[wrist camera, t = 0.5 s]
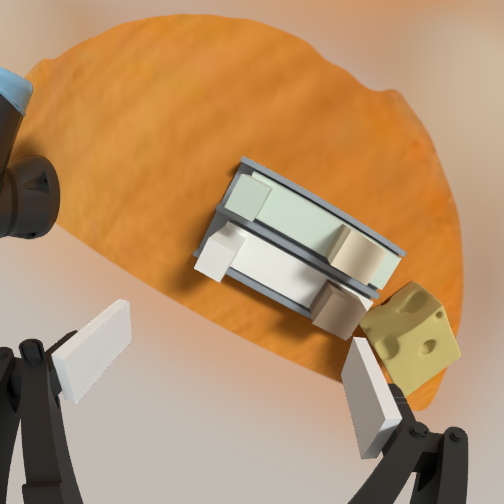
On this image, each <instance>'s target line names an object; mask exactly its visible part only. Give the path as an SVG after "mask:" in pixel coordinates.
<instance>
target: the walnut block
mask: <svg viewBox="0 0 504 504" xmlns="http://www.w3.org/2000/svg"><path fill="white" fill-rule="evenodd" d="M309 307H310V313H311V319H312V324H314V325H316V326H318V327H320V328H322V329H324V330H326V331H328V332H330V333H332V334H334V335H336V336H338V337H340V338H342V339H344V340H346V341H347V339H348V338H349V337H350V335H351V334H352V333H353V331H354V330H355V329H356V327H357V326H358V325H359V323H360V322H361V320H362V319H363V318H364V316H365V315H366V313H367V310H366V309H365V307H364V305H363V304H362V302H361V300H360V299H359V297H358V296H357V295H355V294H353V293H352V292H350V291H348V290H346V289H345V288H343V287H341V286H339V285H337V284H336V283H334V282H332V281H330V280H329V279H327V280H326V282H325V283H324V285H323V286H322V288H321V289H320V291H319V292H318V294H317V296H316V297H315V299H314V300H313V302H312V303H311V305H310V306H309Z"/></svg>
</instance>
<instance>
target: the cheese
mask: <svg viewBox="0 0 504 504" xmlns="http://www.w3.org/2000/svg"><path fill="white" fill-rule="evenodd" d="M359 325H360V327H361V328H362V330H363V331H364V332H365V334H366V335H367V337H368V340H369V342H370V343H371V345H372V346H373V348H374V349H375V351H376V352H377V354H378V356H379V357H380V359H381V361H382V362H383V364H384V366H385V368H386V370H387V371H388V374H389V376H390V378H391V380H392V382H393V384H396V385H397V386H398V387H399V388H400V389H401V390H402V392H403V394H404V396H405V397H406V396H408V395H409V394H411V393H412V392H413V391H415V390H416V389H417V388H418V387H420V386H421V385H422V384H424V383H425V382H426V381H428V380H429V379H430V378H432V377H433V376H435V375H436V374H437V373H439V372H440V371H441V370H443V369H444V368H445V367H447V366H448V365H449V364H451V363H452V362H454V361H455V360H456V359H458V358H459V357H460V356H461V354H460V350H459V347H458V344H457V342H456V340H455V337H454V335H453V333H452V330H451V327H450V325H449V322H448V318H447V315H446V312H445V309H444V306H443V305H442V304H441V303H440V302H439V301H438V299H437V298H435V297H434V296H433V295H432V294H430V293H429V292H428V291H427V290H426V289H425V288H424V287H423V286H421V285H420V284H418V283H417V282H415V281H411V282H410V283H409V284H407V285H406V286H405V287H403V288H402V289H401V290H399V291H398V292H397V293H395V294H394V295H393V296H392V297H391V298H390V300H389V302H388V303H386V304H385V305H383V306H381V305H377V306H376V307H374V308H372V309H371V310H369V311H367V313H366V315H365V316H364V318H363V319H362V320H361V322H360V323H359ZM405 397H404V398H405Z"/></svg>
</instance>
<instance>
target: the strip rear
mask: <svg viewBox="0 0 504 504" xmlns="http://www.w3.org/2000/svg"><path fill="white" fill-rule="evenodd" d="M230 266H231V267H232V268H234V269H236V270H238V271H240V272H242V273H243V274H245V275H247V276H249V277H251V278H253V279H254V280H256V281H258V282H260V283H262V284H264V285H265V286H267V287H269V288H271V289H273V290H275V291H277V292H278V293H280V294H282V295H284V296H286V297H288V298H290V299H292V300H293V301H295V302H297V303H299V304H301V305H303V306H305V307H307V308H309V309H310V307H309V306H310V305H311V303H312V302H313V300H314V299H315V297H316V296H317V294H318V292H319V291H320V289H321V288H322V286H323V285H324V283H325V282H326V280H327V279H329V280H330V281H332V282H334V283H336V284H337V285H339V286H341V287H343V288H345V289H346V290H348V291H350V292H352V293H353V294H355V295H357V296H358V297H359V299H360V300H361V302H362V304H363V305H364V307H365V309H366V310H367V311H368V310H369V308H370V307H371V305H372V304H373V301H372V300H371V299H370V298H368V297H366V296H364V295H363V294H361V293H359V292H357V291H356V290H354V289H352V288H350V287H349V286H347V285H345V284H343V283H342V282H340V281H338V280H336V279H335V278H333V277H331V276H329V275H328V274H326V273H324V272H322V271H320V270H319V269H317V268H315V267H313V266H312V265H310V264H308V263H306V262H304V261H303V260H301V259H299V258H297V257H295V256H294V255H292V254H290V253H288V252H286V251H285V250H283V249H281V248H279V247H277V246H276V245H274V244H272V243H270V242H268V241H267V240H265V239H263V238H261V237H259V236H257V235H256V234H254V233H252V232H250V231H248V230H246V229H245V228H243V227H241V226H239V225H237V224H235V223H234V222H232V221H230V220H229V221H227V223H226V225H225V226H224V227H223V228H222V229H220V230H219V231H217V232H216V233H215V234H213V235H212V236H211V237H209V238H208V240H207V242H206V244H205V246H204V248H203V251H202V253H201V255H200V257H199V259H198V261H197V263H196V265H195V267H194V269H196V270H198V271H199V272H201V273H203V274H205V275H207V276H208V277H210V278H212V279H214V280H216V281H217V282H219V283H220V281H221V280H222V278H223V277H224V275H225V274H226V272H227V271H228V269H229V268H230Z"/></svg>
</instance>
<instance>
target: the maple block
mask: <svg viewBox="0 0 504 504" xmlns="http://www.w3.org/2000/svg"><path fill="white" fill-rule="evenodd" d="M386 254H387V252H386V251H385V250H383V249H382V248H380V247H379V246H378V245H376V244H375V243H373V242H372V241H370V240H368V239H367V238H365V237H364V236H362V235H361V234H359V233H357V232H356V231H354V230H352V229H351V228H349V227H348V226H346V225H344V224H342V226H341V227H340V229H339V231H338V232H337V234H336V236H335V238H334V239H333V241H332V243H331V244H330V246H329V248H328V249H327V251H326V253H325V255H326V257H327V259H328V261H329V263H330V265H332V266H333V267H335V268H337V269H339V270H340V271H342V272H344V273H346V274H347V275H349V276H351V277H352V278H354V279H356V280H358V281H359V282H361V283H363V284H364V285H366V286H367V285H368V283H369V282H370V280H371V278H372V277H373V275H374V274H375V272H376V271H377V269H378V267H379V266H380V264H381V262H382V261H383V259H384V257H385V256H386Z"/></svg>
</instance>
